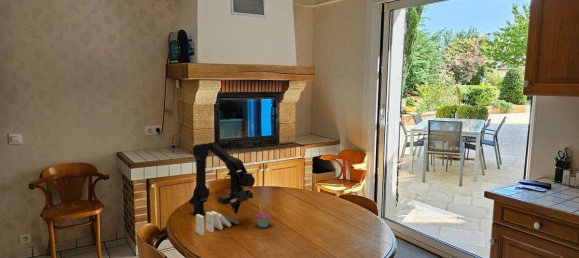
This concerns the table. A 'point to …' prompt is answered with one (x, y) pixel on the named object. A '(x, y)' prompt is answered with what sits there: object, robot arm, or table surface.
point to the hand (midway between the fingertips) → (235, 213)
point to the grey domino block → (231, 219)
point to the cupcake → (263, 218)
